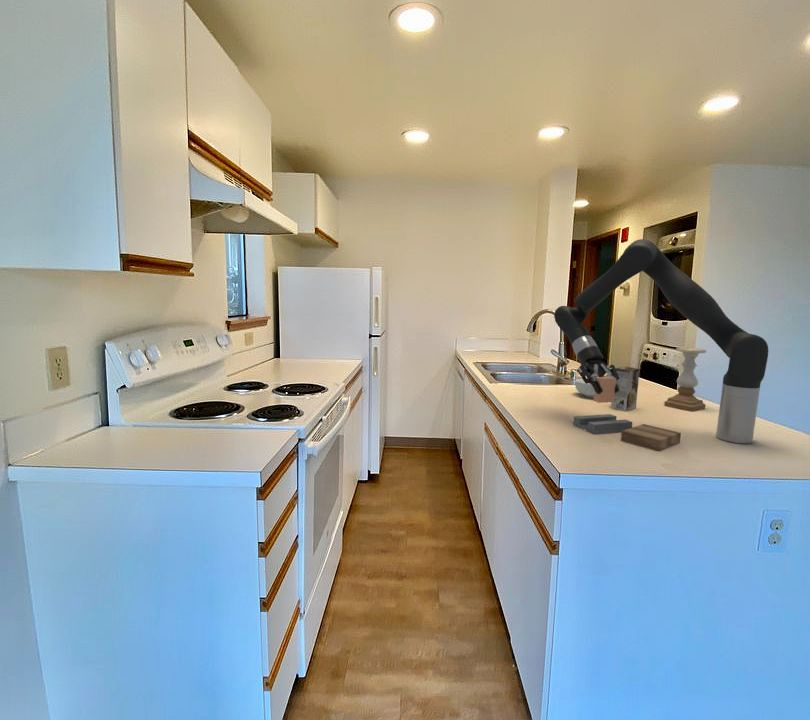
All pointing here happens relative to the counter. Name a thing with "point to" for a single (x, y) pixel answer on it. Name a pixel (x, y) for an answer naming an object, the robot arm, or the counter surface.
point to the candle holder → (687, 383)
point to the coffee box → (626, 389)
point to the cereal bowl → (584, 388)
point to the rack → (601, 423)
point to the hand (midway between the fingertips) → (608, 392)
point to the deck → (651, 437)
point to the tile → (606, 389)
